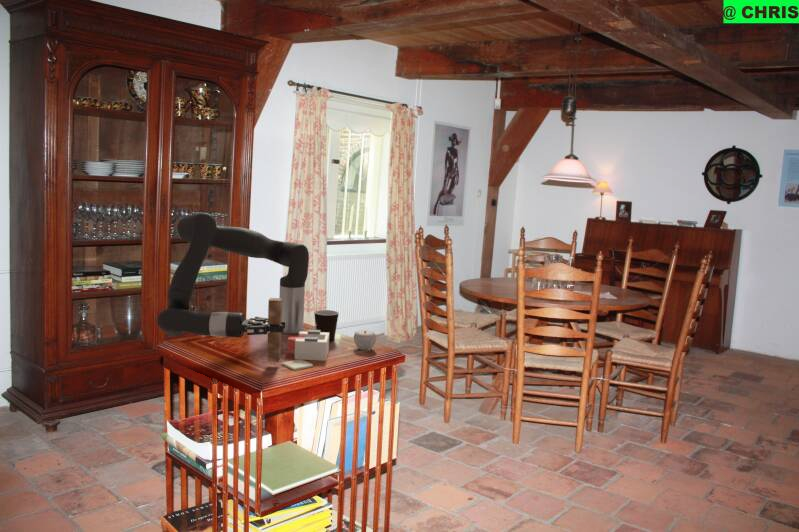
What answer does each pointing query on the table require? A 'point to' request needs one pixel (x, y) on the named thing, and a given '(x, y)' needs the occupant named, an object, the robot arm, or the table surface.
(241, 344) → the table surface
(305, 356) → the box
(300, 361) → the coaster
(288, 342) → the plunger
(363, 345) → the lidded sugar bowl
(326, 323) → the coffee mug
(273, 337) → the walnut stick
